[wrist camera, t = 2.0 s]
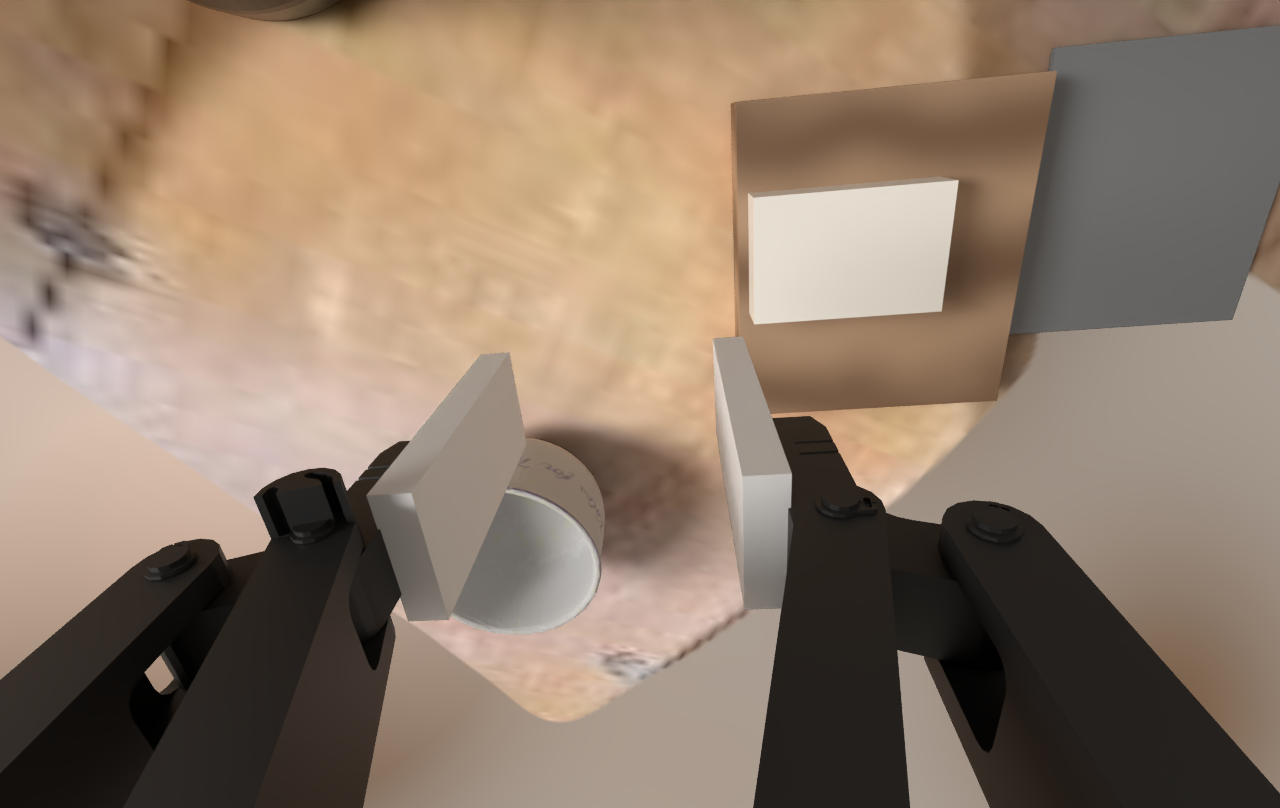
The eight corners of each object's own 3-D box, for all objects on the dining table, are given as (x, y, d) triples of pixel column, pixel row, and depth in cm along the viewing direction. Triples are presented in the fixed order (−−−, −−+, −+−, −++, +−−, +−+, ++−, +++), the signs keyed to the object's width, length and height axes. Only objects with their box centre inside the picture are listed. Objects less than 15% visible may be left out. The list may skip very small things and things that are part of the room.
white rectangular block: (748, 193, 29) (753, 197, 27) (940, 176, 28) (958, 180, 26) (749, 312, 31) (754, 324, 29) (925, 300, 31) (941, 311, 29)
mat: (1052, 48, 28) (1056, 47, 28) (1329, 20, 27) (1336, 19, 27) (1001, 333, 34) (1004, 334, 33) (1227, 317, 33) (1232, 319, 33)
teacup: (641, 465, 39) (636, 544, 31) (566, 576, 43) (546, 668, 35) (443, 363, 36) (386, 423, 29) (384, 491, 40) (321, 572, 33)
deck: (730, 103, 29) (736, 101, 27) (1026, 74, 28) (1057, 70, 26) (736, 397, 36) (741, 415, 34) (975, 382, 35) (996, 400, 33)
